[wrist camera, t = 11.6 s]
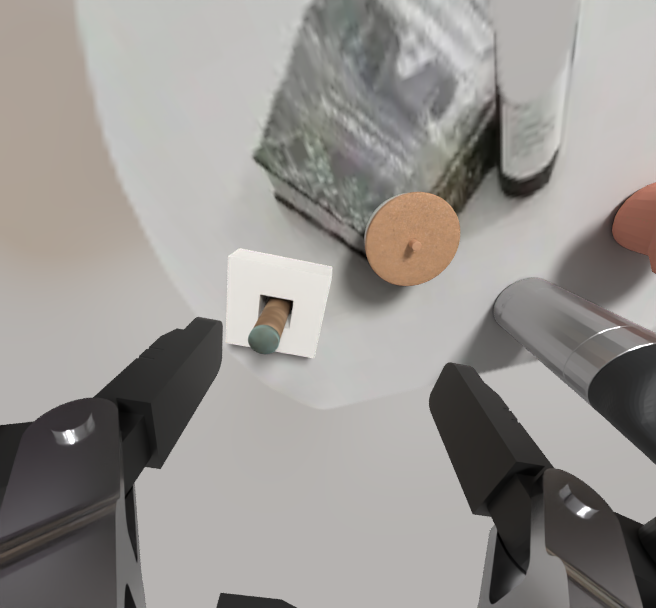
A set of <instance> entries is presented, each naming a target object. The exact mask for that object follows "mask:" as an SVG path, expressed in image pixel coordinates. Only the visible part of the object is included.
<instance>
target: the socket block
mask: <svg viewBox="0 0 656 608" xmlns="http://www.w3.org/2000/svg"><path fill="white" fill-rule="evenodd" d="M331 279H332V267H331V266H326V265H321V264H316V263H311V262H306V261H301V260H296V259H291V258H286V257H281V256H276V255H271V254H266V253H261V252H256V251H251V250H246V249H241V248H239V249H238V250H236V251H235V252H234V253H232V254H231V255H229V256H228V277H227V313H226V343H229V344H235V345H240V346H246V347H250V345H249V343H248V336H249V334H250V332H251V330H252V329H253V328H254V326H255V324H256V322H257V320H258V318H259V317H260V315H261V313H262V311H263V309H264V307H265V303H266V296H272V297H277V298H282V299H288V300H293V301H294V302H293V309H292V314H289V315H288V318H287V321H286V324H285V327H284V330H283V333H282V336H281V338H280V343H279V346H278V348H277V349H276V350H275V352H281V353H286V354H292V355H298V356H304V357H309V358H314V357H315V353H316V348H317V344H318V339H319V334H320V330H321V325H322V321H323V316H324V311H325V307H326V302H327V298H328V293H329V288H330V284H331Z"/></svg>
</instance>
